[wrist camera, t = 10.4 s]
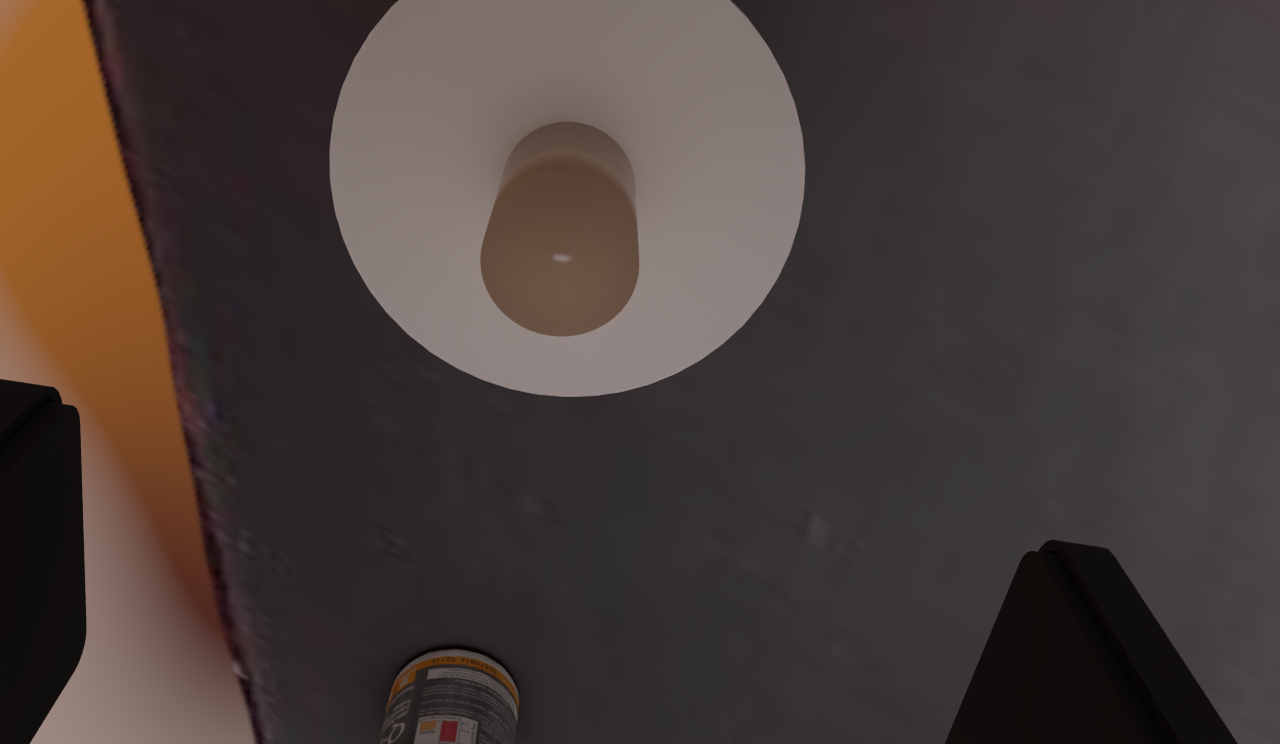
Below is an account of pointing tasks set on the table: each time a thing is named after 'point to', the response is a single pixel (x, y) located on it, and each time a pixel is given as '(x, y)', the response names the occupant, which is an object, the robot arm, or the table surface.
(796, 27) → the table surface
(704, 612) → the table surface
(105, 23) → the table surface
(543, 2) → the lid
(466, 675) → the pill bottle
